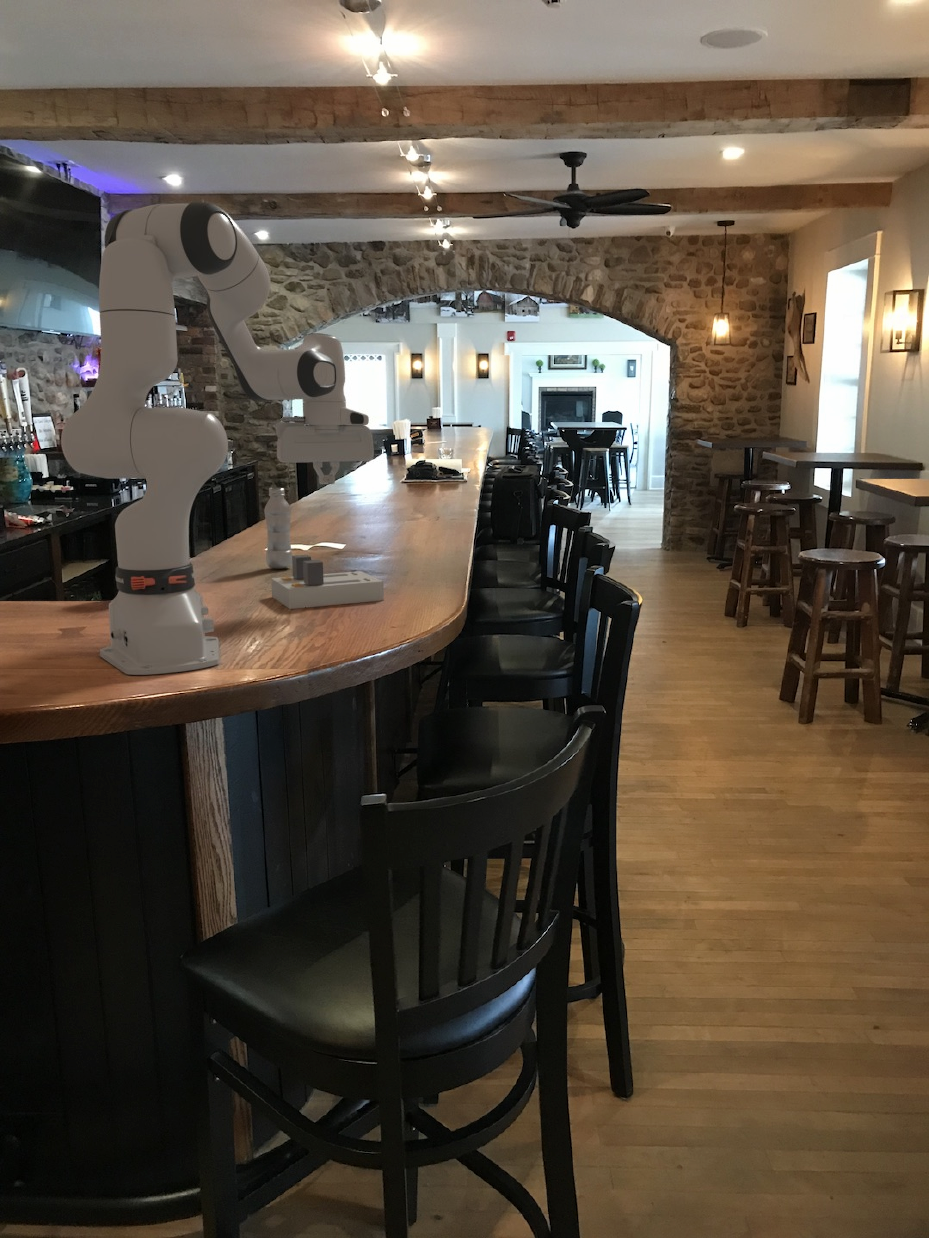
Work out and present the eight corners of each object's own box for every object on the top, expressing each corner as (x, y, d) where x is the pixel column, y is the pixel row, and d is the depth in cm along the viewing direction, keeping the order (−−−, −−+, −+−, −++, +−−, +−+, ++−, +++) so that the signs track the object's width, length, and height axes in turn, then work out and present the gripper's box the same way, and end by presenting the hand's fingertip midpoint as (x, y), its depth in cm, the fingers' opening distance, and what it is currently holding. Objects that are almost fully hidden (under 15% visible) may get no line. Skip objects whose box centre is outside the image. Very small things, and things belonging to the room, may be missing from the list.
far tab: (311, 577, 196) (311, 556, 195) (297, 579, 195) (296, 557, 194) (307, 575, 199) (306, 554, 198) (292, 576, 198) (291, 555, 197)
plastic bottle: (265, 567, 236) (261, 487, 231) (292, 566, 238) (288, 487, 233) (267, 571, 230) (263, 489, 225) (295, 570, 232) (291, 489, 227)
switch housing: (383, 600, 194) (383, 579, 193) (289, 608, 186) (288, 587, 185) (361, 589, 207) (360, 569, 206) (271, 596, 198) (271, 576, 197)
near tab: (323, 584, 189) (322, 562, 188) (308, 585, 188) (307, 563, 187) (318, 581, 192) (318, 559, 191) (303, 582, 191) (302, 561, 190)
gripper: (279, 416, 185) (282, 486, 188) (375, 416, 194) (377, 483, 197) (271, 416, 191) (274, 484, 194) (365, 416, 200) (367, 481, 202)
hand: (326, 484), depth 195 cm, fingers closed
